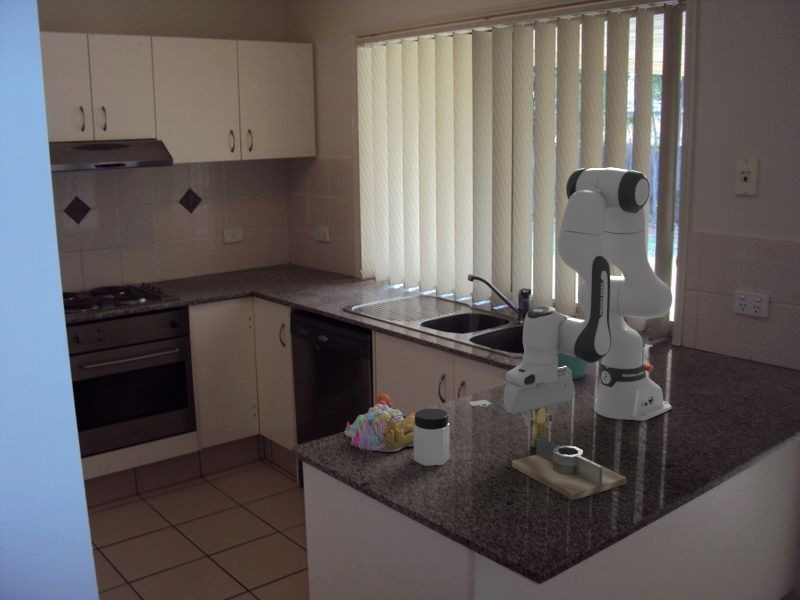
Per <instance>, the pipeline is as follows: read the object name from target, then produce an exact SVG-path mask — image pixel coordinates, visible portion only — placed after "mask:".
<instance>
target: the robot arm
mask: <svg viewBox="0 0 800 600" xmlns="http://www.w3.org/2000/svg"><path fill="white" fill-rule="evenodd" d="M565 191H566V197H567V200H568V201H567V203H566V206H565V210H564V213H563V216H562V220H561V223H560V224H561V225H560V231H559V234H558V241H557V251H558V254H559V256H560V258H561V260H562V261H563V263H564V264H565V265H566V266H567V267H568V268H570V269H572V270H573V271H574V272H575V273H577V274H578V275H580V277H581V278H582V280H583V281H582V282H580V285H579V287H578V292H577V297H578V298H577V299H578V302H579V304H580V306H581V307H582V309H583V310H584V311H586V312H585V313H586V317H585V319H581V318H577V317H573V316H569V315H566V314H563V313H561V312H558V311H557V310H556V308H555V307H552V306H547V305H545V306H544V305H543V306H536V307H533V308H531V309H529V310H528V311H526V315H525V316H524V317H525V318H524V319H523V321H524V322H523V326H522V327H523V328H522V344H523V350H524V352H523V356H522V362H521V363H519V364H518V365H517V366H515V367H513V368H511V369H510V370H509V371H507V372H506V373H505V379H506V381H507V383H506V384H505V386H504V392H503V408H504V409H505V410H506V412H507V413H510V414H512V415H515V414H521V415H522V417H523V418H524V425H525V426H526V427H528V428H530V427H533V425H534V424H533V422H534V419H533V418H531V416H530V415H531V413H532V411H533V410H534V409H539V408H543V407H546V408H547V407H548V410H547V412H546V418H545V422H547V423H549V422H553V421H554V415H555V413H556V411H557V410H558V405H560V404H564V403H567V402H572V400H573V399H574V397H575V393H574V391H575V389H574V381H573V380H574V379H572V370H571V369H570V368H569V367H567V366H563V367H558V357H557V354H558V353H563V354H566V355H570V356H573V357H577V358H579V359H581V360H584V361H586V362H587V363H588V364H594V363H596V362H598V361H600V362H599V382H598V389H597V397H596V399H595V402H594V403H595V404H594V408H593V410H594V411H593V412H594V413H596V414H598V415H599V416H602V417H605V418H609V419H615V420H629V421H630V420H633V421H637V422H638V421H640V422H645V421H647V420H649V419H652V418H655V417H657V416H659V415H661V414H664V413H666V412H668V410H669V411H671V410H672V405H671V404H670V403H669V402H666V401H665V400H664V396H663V395H664V394H663V390H662V388H661V386H660V385H659V384H657V383H655V381H653V380H652V379H651V378H649V377H648V376H647V374H646V371H647V372H649V373H651V372H653V369H654V366H653V365H652V364H649V363H645V364H644V363H643V350H644V349H643V344H644V343H643V339H642V336H641V335H640V334H639V332H638V331H636V329H634V328H632V327H630V326H629V325H628V323H626V321H625V319H624V317H627V318H634V319H635V318H638V319H644V320H645V319H646V320H647V319H657V318H658V319H659V318H663V317H665V316H666V315H667V313H668V312H669V310H670V309H671V307H672V305H673V304H672V303H673V294H672V290H671V289H670V286H669V285H668V284H667V283H666V282H664V281H663V280H662V279H661V278H660V277H659V276H658V275H657V274H656V272H654V270H653V268H652V266H651V265H650V262H649V259H648V257H647V247H646V216H645V214H646V213H645V207H644V206H645V205H646V203H648V200H649V197H650V191H651V188H650V181H649V180H648V178H647V176H646V174H644V173H642V172H641V171H637V170H633V169H630V170H628V169H623V168H622V169H621V168H615V167H605V168H603V167H602V168H601V167H598V168H590V167H584V168H578V169H575V170H574V171H572V173H571V175H570V176H569V177H568V179H567V182H566V186H565ZM610 265H611V266H614V267H615V268H616V269H618V270H619V271H620V273H621V274H622V276H619V275H618V276H617V275H611V266H610ZM670 409H671V410H670Z"/></svg>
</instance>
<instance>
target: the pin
mask: <svg viewBox="0 0 800 600" xmlns="http://www.w3.org/2000/svg"><path fill="white" fill-rule="evenodd" d="M546 409H547V407H543V408H539V409H534V410H532V419H534V422H533V424H534V425H533V426H532V436H531V437H532V438H531V439H532V440H531V444H532V447H533V448H535V449H537V437H539V436H540V437H542V438H544V439H546V421H545V418H546V413H547V412H546Z"/></svg>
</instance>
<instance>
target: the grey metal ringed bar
mask: <svg viewBox="0 0 800 600" xmlns="http://www.w3.org/2000/svg"><path fill="white" fill-rule="evenodd" d="M536 454H537V455H539V456H541V457H543V458H545V459H547V460H549V461H551V462H553V470H554V471H556V472H557V473H559V474H564V475H575V474H576V475H578V476H580V477H582V478H584V479H586V480H588V481H590V482H592V483H594V484H596V485H598V486H601V485H602V465H601V466H600V464H599V463H596V462H594V461H592V460H590V459H588V458H586V457H584V451H583V449H581V448H579V447H577V446H574V445H558V444H556V443H555V442H552V441H550V440H548V439H546V438H545V439H544V438H542V437H540V436H539V437H537V448H536ZM583 457H584V458H583ZM598 464H599V465H598Z"/></svg>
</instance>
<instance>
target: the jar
mask: <svg viewBox="0 0 800 600" xmlns="http://www.w3.org/2000/svg"><path fill="white" fill-rule="evenodd" d="M413 430H414V446H413V461H414V462H416V463H418V464H420V465H422V466H424V467H434V465H437V466H444V465H445V464H446V463H447V462H448V461H449V460H450V457H451V449H450V447H451V446H450V445H451V444H450V443H451V440H450V436H451V435H450V432H451V431H450V430H451V427H450V422H449V414H448V412H447V411H445V410H443V409H438V408H423V409H420V410H418V411H416V412H415V424H414V425H413Z"/></svg>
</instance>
